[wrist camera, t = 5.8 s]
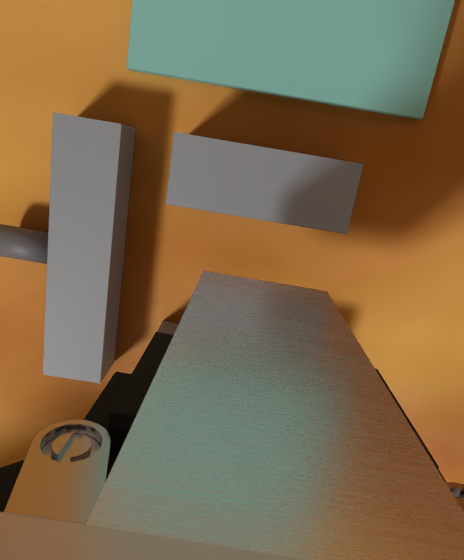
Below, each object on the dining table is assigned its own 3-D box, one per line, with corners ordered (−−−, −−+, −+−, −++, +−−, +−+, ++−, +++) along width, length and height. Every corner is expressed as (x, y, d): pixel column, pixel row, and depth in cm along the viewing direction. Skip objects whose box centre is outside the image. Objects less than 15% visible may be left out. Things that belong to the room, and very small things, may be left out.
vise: (344, 163, 21) (363, 163, 17) (292, 389, 24) (300, 426, 21) (14, 107, 20) (-31, 97, 17) (11, 344, 24) (-27, 374, 21)
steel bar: (327, 291, 15) (585, 708, 3) (301, 400, 16) (428, 987, 5) (203, 270, 15) (43, 616, 3) (187, 381, 16) (27, 917, 5)
